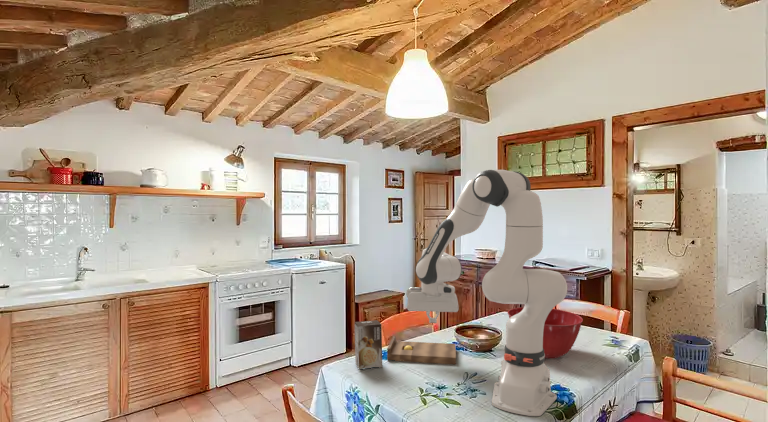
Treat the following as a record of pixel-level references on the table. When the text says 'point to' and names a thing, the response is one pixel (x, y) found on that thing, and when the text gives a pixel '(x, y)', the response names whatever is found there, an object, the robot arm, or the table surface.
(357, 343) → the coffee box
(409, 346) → the ball
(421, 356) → the tray
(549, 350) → the mixing bowl
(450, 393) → the table surface
